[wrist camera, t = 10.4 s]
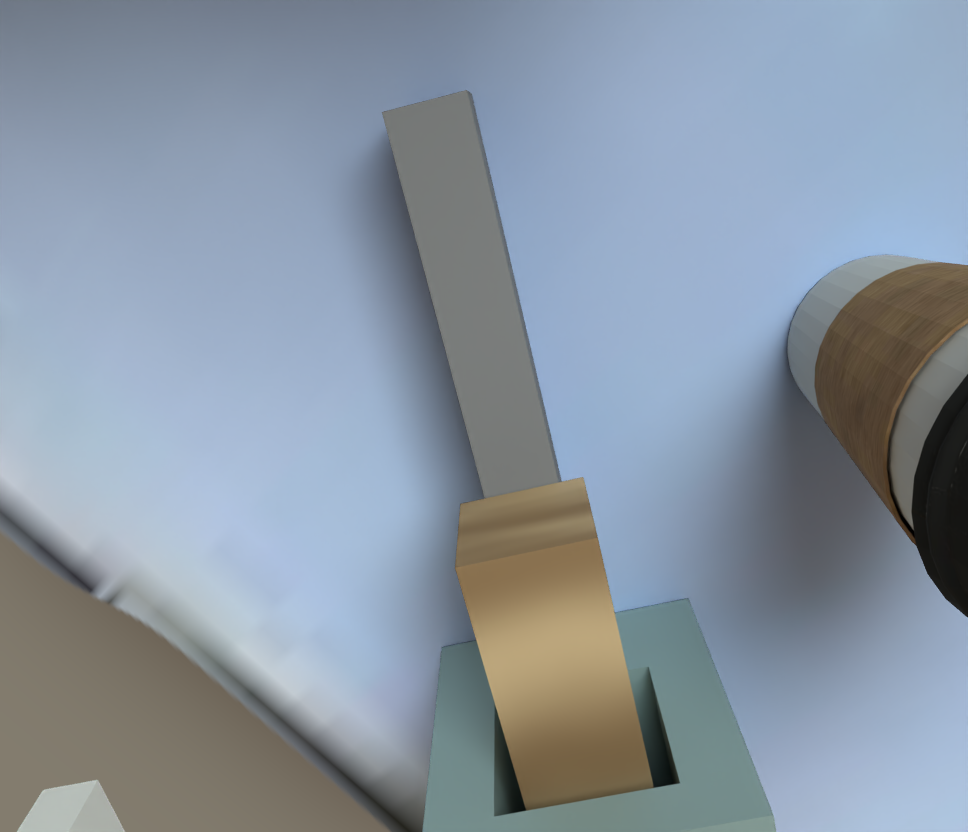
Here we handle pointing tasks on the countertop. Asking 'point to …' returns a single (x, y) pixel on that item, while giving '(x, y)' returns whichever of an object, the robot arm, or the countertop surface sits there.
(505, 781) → the bore block
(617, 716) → the oak peg
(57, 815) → the robot arm
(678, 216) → the countertop surface
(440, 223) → the rail
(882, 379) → the coffee cup
